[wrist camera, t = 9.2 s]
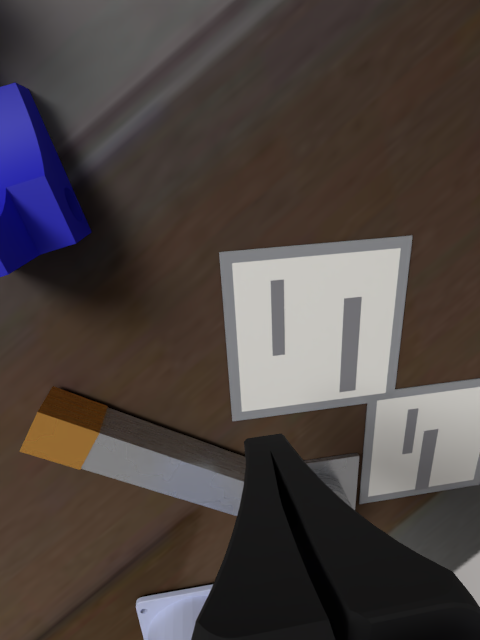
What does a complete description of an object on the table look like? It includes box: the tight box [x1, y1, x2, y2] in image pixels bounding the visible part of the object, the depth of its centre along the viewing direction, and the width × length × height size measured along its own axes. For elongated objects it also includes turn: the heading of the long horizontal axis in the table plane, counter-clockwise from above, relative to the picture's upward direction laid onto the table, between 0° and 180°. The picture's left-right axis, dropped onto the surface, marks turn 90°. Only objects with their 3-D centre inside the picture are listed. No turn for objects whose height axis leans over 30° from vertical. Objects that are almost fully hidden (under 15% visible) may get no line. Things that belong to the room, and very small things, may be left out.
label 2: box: [359, 378, 480, 504], centre depth 26 cm, size 9×9×1 cm
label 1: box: [219, 236, 412, 421], centre depth 21 cm, size 10×10×1 cm
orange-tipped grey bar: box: [20, 386, 353, 516], centre depth 22 cm, size 20×4×2 cm, turn 60°
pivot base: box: [304, 453, 359, 510], centre depth 26 cm, size 6×6×1 cm
